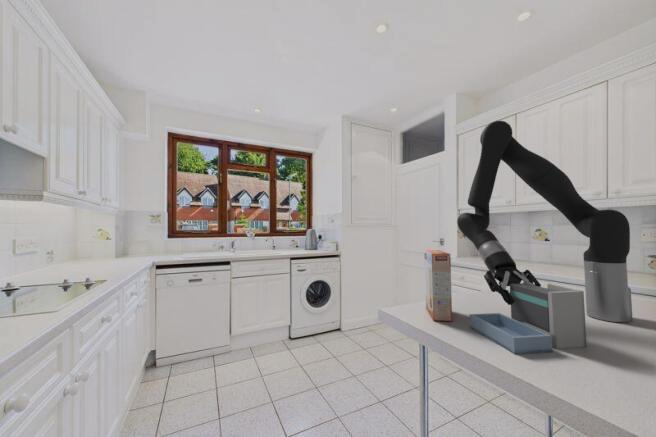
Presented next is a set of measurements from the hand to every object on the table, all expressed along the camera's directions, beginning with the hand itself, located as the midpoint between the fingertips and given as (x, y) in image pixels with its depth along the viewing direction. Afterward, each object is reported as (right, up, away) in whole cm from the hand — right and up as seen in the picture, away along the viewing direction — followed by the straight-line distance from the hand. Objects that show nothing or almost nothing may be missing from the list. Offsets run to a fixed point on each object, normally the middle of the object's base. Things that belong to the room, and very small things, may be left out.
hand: (526, 303), depth 75 cm
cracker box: (-19, -8, +13) cm, 25 cm away
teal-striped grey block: (0, -7, -4) cm, 8 cm away
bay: (+1, -7, -8) cm, 11 cm away
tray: (-10, -7, -6) cm, 14 cm away
